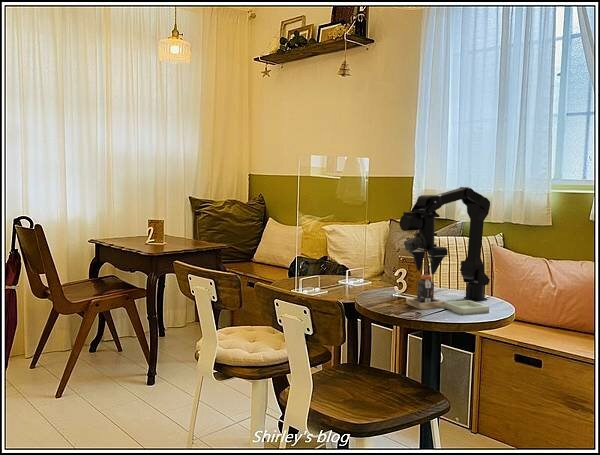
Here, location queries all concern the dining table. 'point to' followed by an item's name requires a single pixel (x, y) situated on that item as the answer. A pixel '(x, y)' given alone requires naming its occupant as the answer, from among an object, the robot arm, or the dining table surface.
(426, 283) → the pill bottle
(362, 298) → the dining table surface
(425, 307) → the socket collar
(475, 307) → the tray
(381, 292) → the dining table surface
